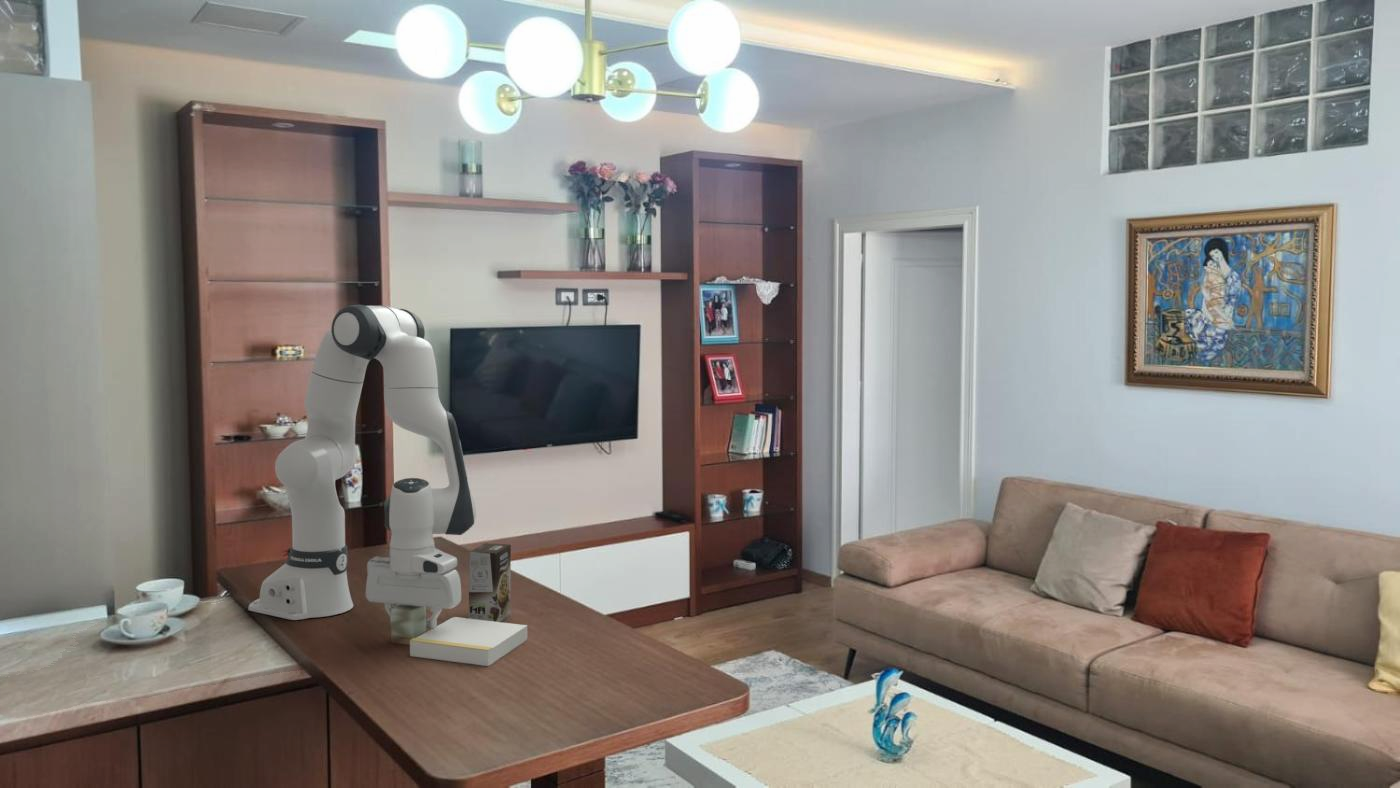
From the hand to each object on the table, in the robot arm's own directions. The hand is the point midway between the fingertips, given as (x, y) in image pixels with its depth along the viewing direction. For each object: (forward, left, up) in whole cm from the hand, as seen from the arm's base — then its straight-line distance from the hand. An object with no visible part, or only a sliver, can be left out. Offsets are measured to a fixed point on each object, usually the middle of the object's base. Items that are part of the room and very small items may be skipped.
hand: (413, 625), depth 219 cm
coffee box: (+8, +18, -3) cm, 20 cm away
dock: (+13, 0, -3) cm, 13 cm away
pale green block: (-1, 0, -3) cm, 3 cm away
